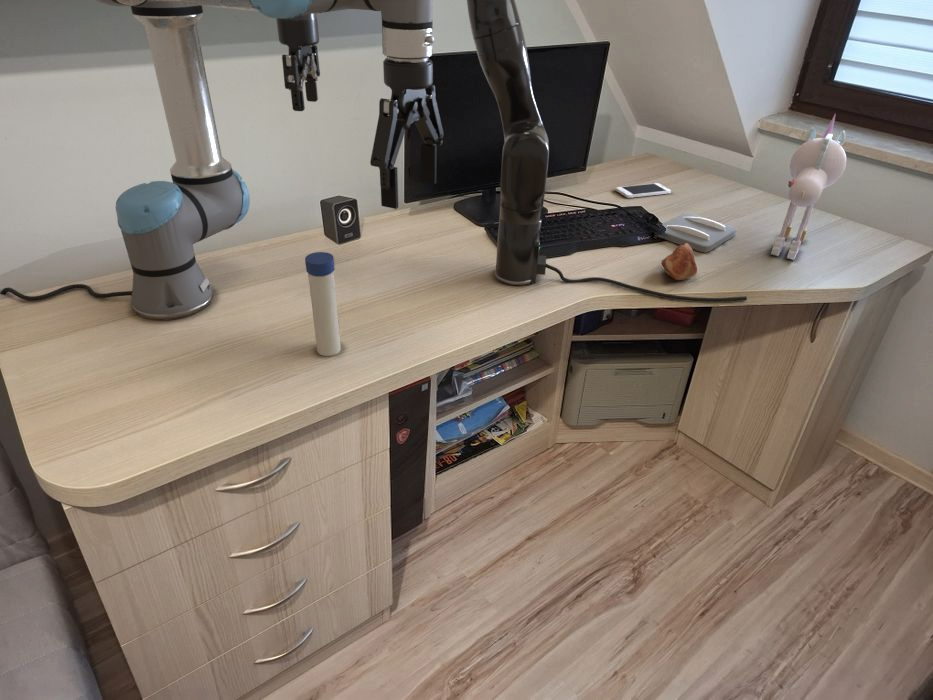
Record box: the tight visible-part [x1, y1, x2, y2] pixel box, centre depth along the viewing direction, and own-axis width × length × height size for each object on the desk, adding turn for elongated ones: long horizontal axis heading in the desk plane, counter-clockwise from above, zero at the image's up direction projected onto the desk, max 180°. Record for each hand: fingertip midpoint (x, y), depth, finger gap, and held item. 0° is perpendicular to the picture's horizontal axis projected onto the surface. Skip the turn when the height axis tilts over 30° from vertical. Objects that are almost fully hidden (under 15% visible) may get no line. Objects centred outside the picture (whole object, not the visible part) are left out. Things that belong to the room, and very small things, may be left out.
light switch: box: [654, 212, 737, 253], centre depth 167 cm, size 18×3×15 cm
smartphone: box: [615, 182, 672, 199], centre depth 194 cm, size 7×16×1 cm, turn 111°
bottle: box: [307, 270, 342, 357], centre depth 113 cm, size 4×4×18 cm
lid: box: [304, 251, 336, 276], centre depth 108 cm, size 5×5×2 cm
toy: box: [770, 112, 847, 261], centre depth 159 cm, size 12×36×30 cm, turn 148°
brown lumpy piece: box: [660, 243, 698, 281], centre depth 146 cm, size 13×8×10 cm
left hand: (410, 194), depth 108 cm, fingers open, 13 cm apart
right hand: (305, 105), depth 129 cm, fingers open, 8 cm apart
